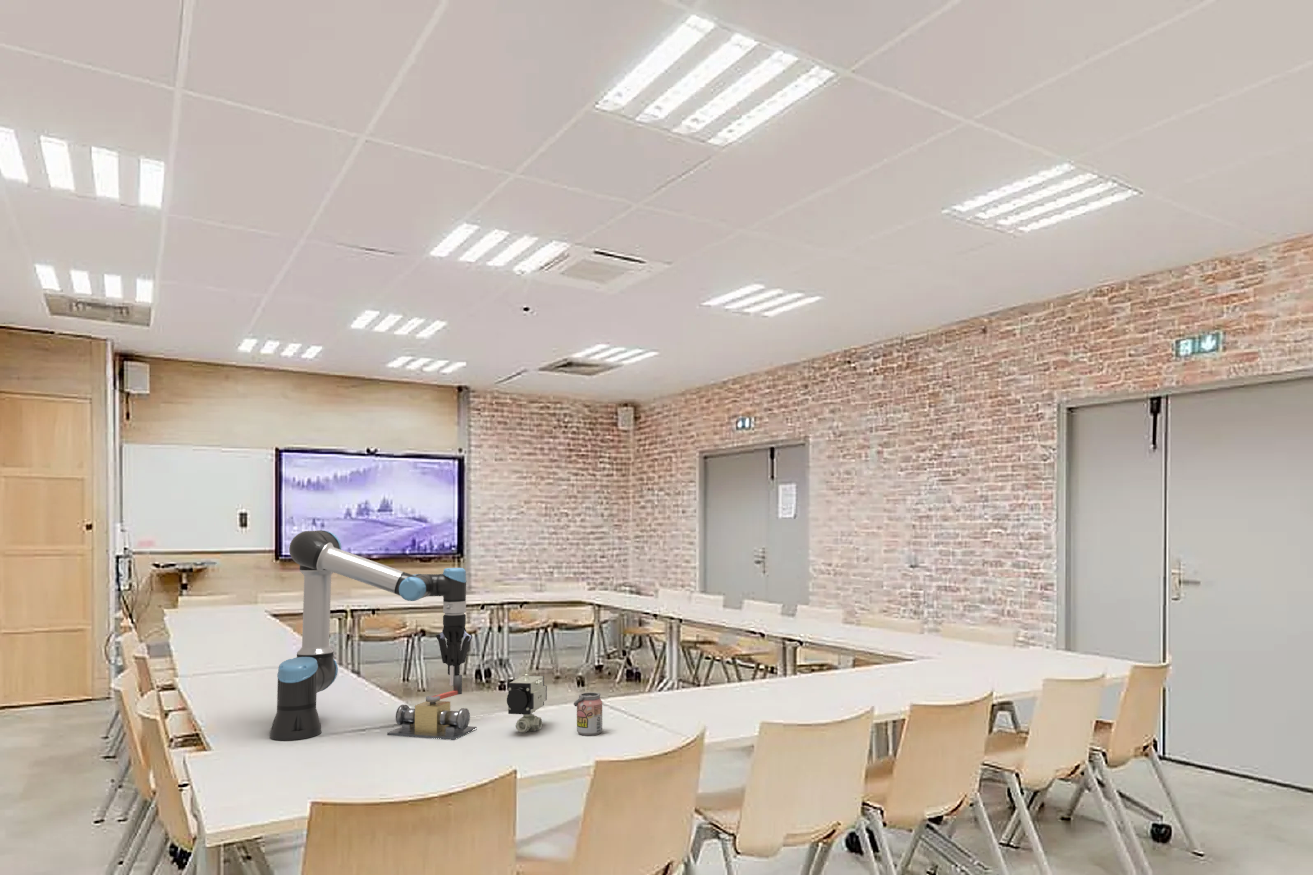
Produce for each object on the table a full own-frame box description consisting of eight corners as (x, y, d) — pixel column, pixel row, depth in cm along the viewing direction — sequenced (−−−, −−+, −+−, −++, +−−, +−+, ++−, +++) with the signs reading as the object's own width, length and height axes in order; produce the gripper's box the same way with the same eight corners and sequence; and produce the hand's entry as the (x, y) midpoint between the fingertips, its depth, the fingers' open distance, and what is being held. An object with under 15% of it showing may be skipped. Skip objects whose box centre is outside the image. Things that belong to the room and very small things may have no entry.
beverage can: (568, 733, 270) (568, 694, 272) (588, 728, 277) (588, 690, 278) (588, 737, 264) (588, 698, 265) (608, 732, 270) (607, 693, 271)
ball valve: (531, 738, 265) (531, 679, 266) (505, 737, 266) (505, 678, 268) (549, 724, 282) (549, 669, 284) (525, 723, 284) (525, 669, 286)
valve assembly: (387, 735, 270) (387, 704, 271) (412, 725, 283) (412, 695, 284) (454, 740, 263) (454, 708, 264) (476, 729, 276) (476, 699, 277)
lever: (433, 702, 271) (433, 683, 272) (422, 701, 273) (423, 682, 274) (465, 693, 285) (465, 675, 286) (455, 692, 287) (455, 674, 288)
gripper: (431, 614, 287) (430, 686, 285) (465, 615, 283) (464, 688, 281) (444, 612, 294) (443, 681, 292) (476, 613, 290) (476, 683, 288)
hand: (453, 684), depth 286 cm, fingers closed
